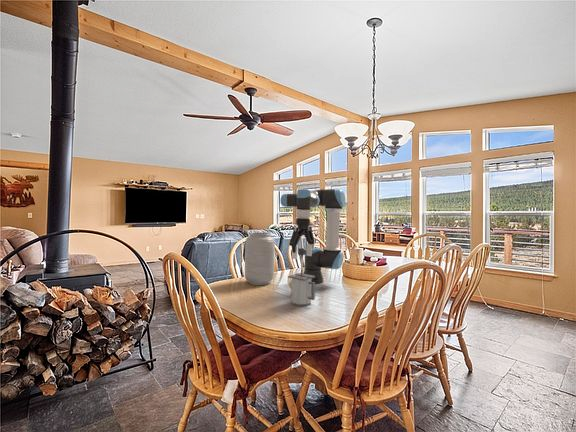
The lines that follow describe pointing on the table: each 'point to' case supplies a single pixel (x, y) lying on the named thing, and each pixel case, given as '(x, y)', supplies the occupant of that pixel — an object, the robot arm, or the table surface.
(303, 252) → the plunger
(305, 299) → the grey french press
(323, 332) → the table surface
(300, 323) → the table surface
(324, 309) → the table surface
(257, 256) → the vase
